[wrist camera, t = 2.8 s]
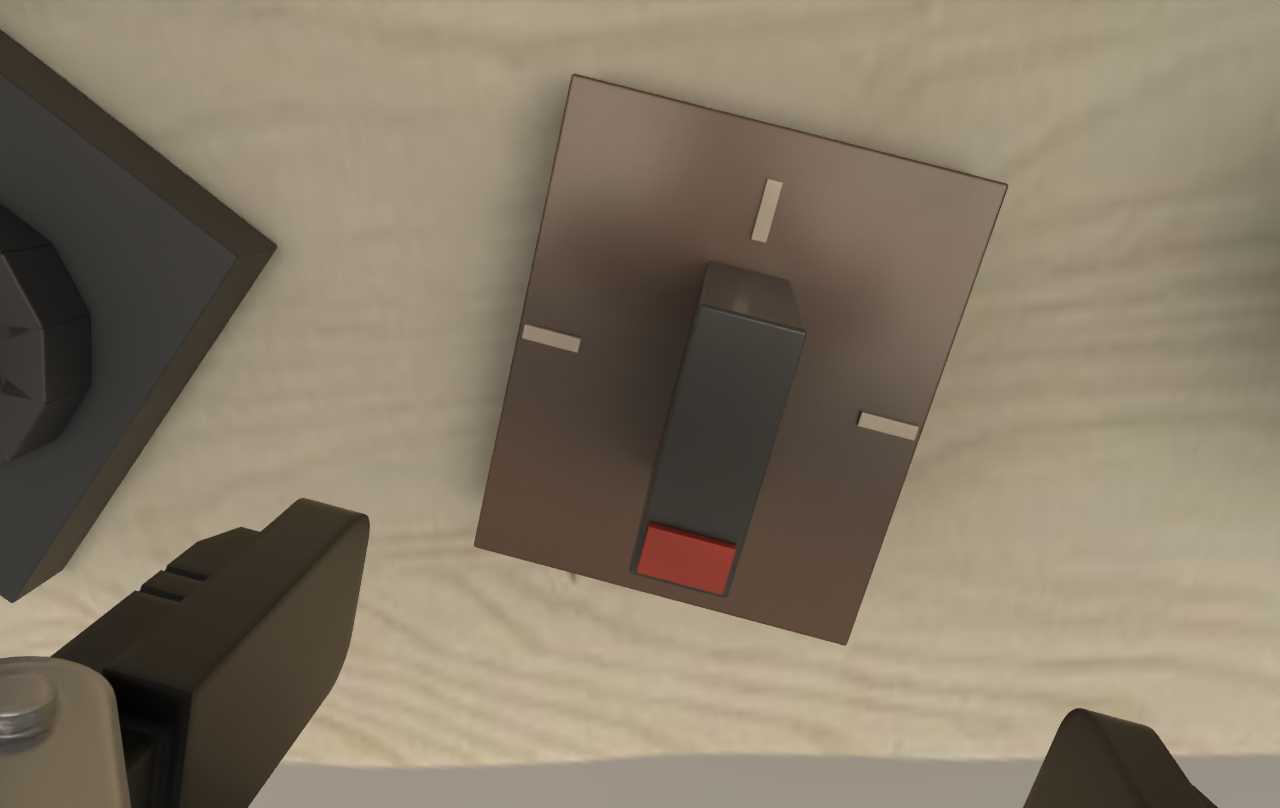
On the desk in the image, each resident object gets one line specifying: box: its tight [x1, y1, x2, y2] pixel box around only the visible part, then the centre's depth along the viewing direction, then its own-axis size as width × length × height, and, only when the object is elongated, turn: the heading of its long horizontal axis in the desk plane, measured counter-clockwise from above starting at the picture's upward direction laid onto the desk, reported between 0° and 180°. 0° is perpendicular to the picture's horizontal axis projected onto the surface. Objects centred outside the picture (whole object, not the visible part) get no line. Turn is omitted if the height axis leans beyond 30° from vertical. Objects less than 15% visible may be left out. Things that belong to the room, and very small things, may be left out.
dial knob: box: [629, 261, 808, 598], centre depth 20 cm, size 6×2×6 cm, turn 166°
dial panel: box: [474, 74, 1008, 645], centre depth 24 cm, size 12×10×3 cm
